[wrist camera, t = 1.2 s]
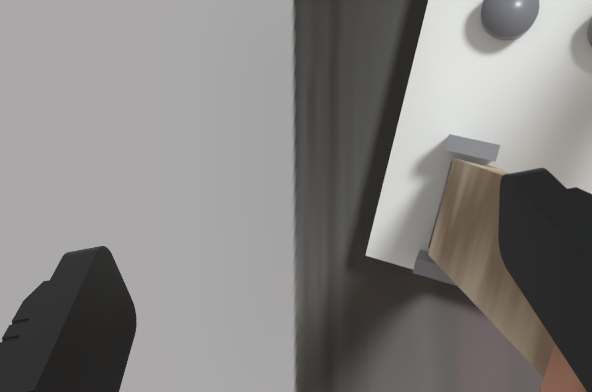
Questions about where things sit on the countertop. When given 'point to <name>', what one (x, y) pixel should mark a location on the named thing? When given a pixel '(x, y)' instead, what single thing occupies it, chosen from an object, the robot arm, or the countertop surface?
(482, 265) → the brown long rectangular block
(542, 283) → the robot arm
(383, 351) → the countertop surface
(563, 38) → the panel
